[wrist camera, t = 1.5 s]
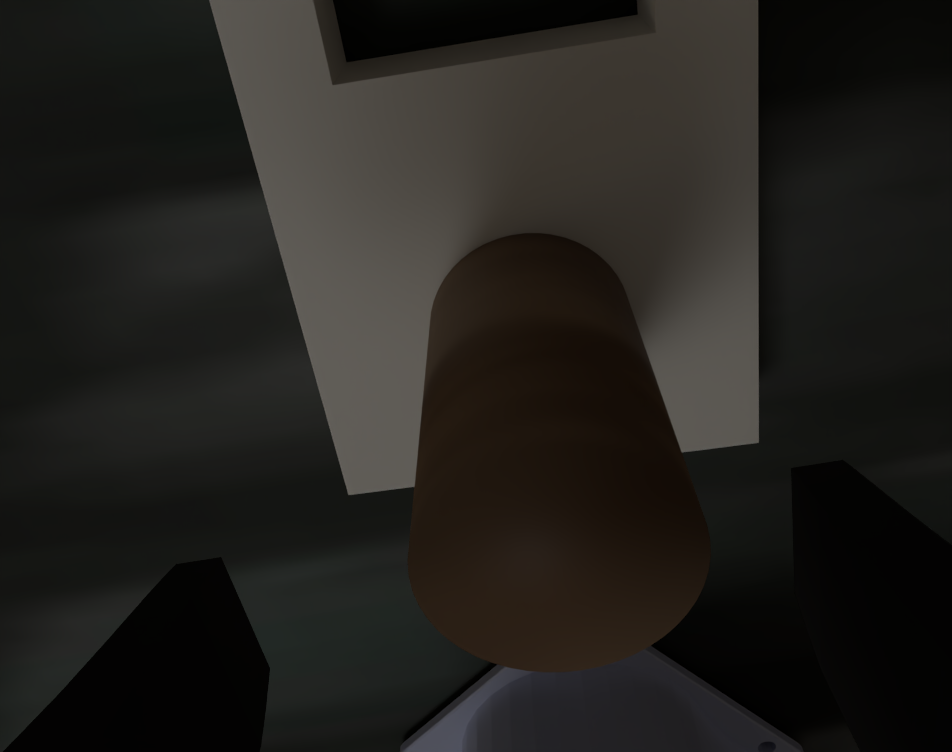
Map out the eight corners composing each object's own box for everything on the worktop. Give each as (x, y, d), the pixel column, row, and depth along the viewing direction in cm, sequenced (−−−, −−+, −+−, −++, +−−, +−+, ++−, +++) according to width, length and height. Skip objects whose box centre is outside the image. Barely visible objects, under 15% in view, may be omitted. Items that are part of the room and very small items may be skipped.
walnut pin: (672, 316, 18) (774, 552, 12) (537, 445, 20) (566, 711, 13) (521, 191, 17) (549, 381, 11) (389, 338, 18) (346, 580, 12)
